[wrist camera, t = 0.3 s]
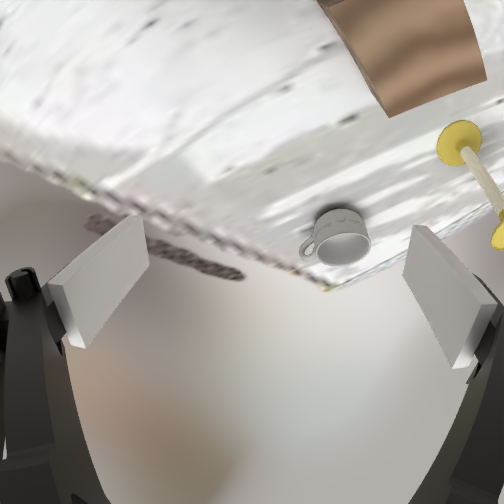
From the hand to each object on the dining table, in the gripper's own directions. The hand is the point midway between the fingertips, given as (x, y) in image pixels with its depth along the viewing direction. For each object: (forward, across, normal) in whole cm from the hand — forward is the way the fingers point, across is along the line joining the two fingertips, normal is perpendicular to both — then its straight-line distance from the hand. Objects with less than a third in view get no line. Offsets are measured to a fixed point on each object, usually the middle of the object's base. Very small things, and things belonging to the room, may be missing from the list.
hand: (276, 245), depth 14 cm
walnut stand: (+28, +15, +20) cm, 37 cm away
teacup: (+46, +10, -15) cm, 49 cm away
